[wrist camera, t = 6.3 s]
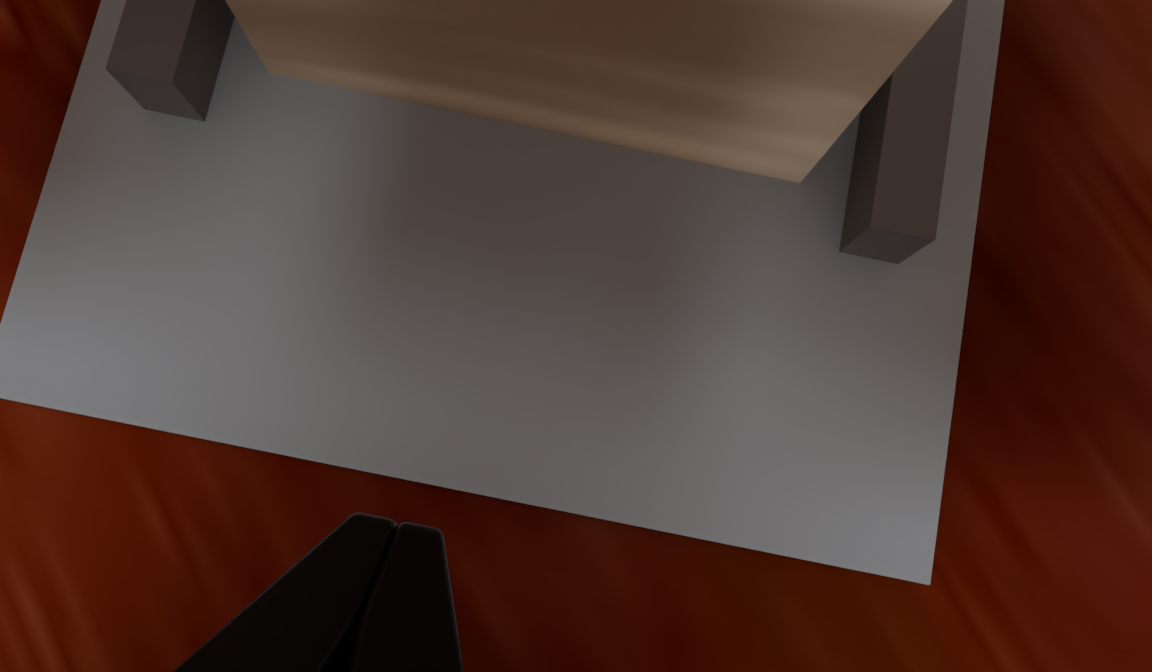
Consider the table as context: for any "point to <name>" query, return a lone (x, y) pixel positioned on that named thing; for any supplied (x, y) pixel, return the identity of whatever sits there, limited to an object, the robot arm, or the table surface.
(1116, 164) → the table surface
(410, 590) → the robot arm
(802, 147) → the t block
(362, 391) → the t bay
